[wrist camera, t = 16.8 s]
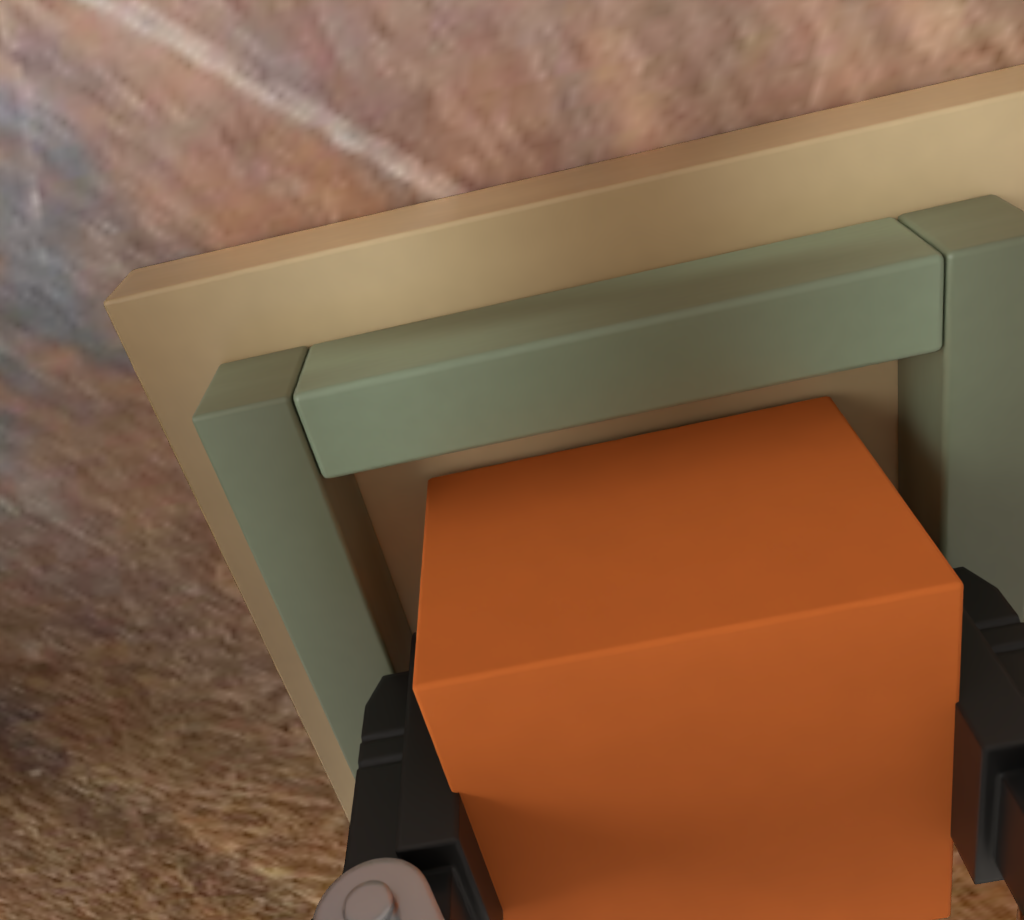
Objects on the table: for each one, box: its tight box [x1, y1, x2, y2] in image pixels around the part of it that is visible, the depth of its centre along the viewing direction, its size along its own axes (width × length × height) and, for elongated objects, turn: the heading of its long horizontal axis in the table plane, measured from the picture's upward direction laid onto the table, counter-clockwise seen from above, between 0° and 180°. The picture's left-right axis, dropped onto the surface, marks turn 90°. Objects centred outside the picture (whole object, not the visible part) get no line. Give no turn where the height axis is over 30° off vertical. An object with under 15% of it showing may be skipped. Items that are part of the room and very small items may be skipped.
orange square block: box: [413, 396, 964, 920], centre depth 12 cm, size 6×6×4 cm
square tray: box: [104, 64, 1024, 823], centre depth 14 cm, size 12×12×3 cm
